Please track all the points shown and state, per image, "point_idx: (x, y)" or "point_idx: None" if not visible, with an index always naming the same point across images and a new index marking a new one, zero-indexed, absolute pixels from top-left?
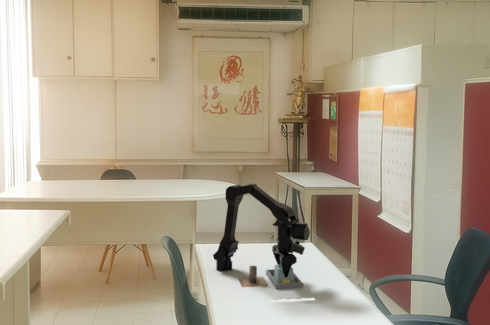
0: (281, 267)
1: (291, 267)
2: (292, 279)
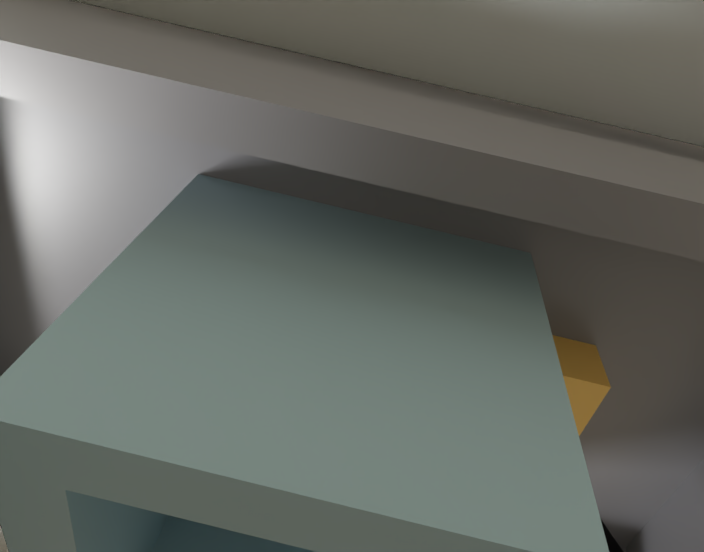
0: (126, 536)
1: (436, 544)
2: (537, 304)
